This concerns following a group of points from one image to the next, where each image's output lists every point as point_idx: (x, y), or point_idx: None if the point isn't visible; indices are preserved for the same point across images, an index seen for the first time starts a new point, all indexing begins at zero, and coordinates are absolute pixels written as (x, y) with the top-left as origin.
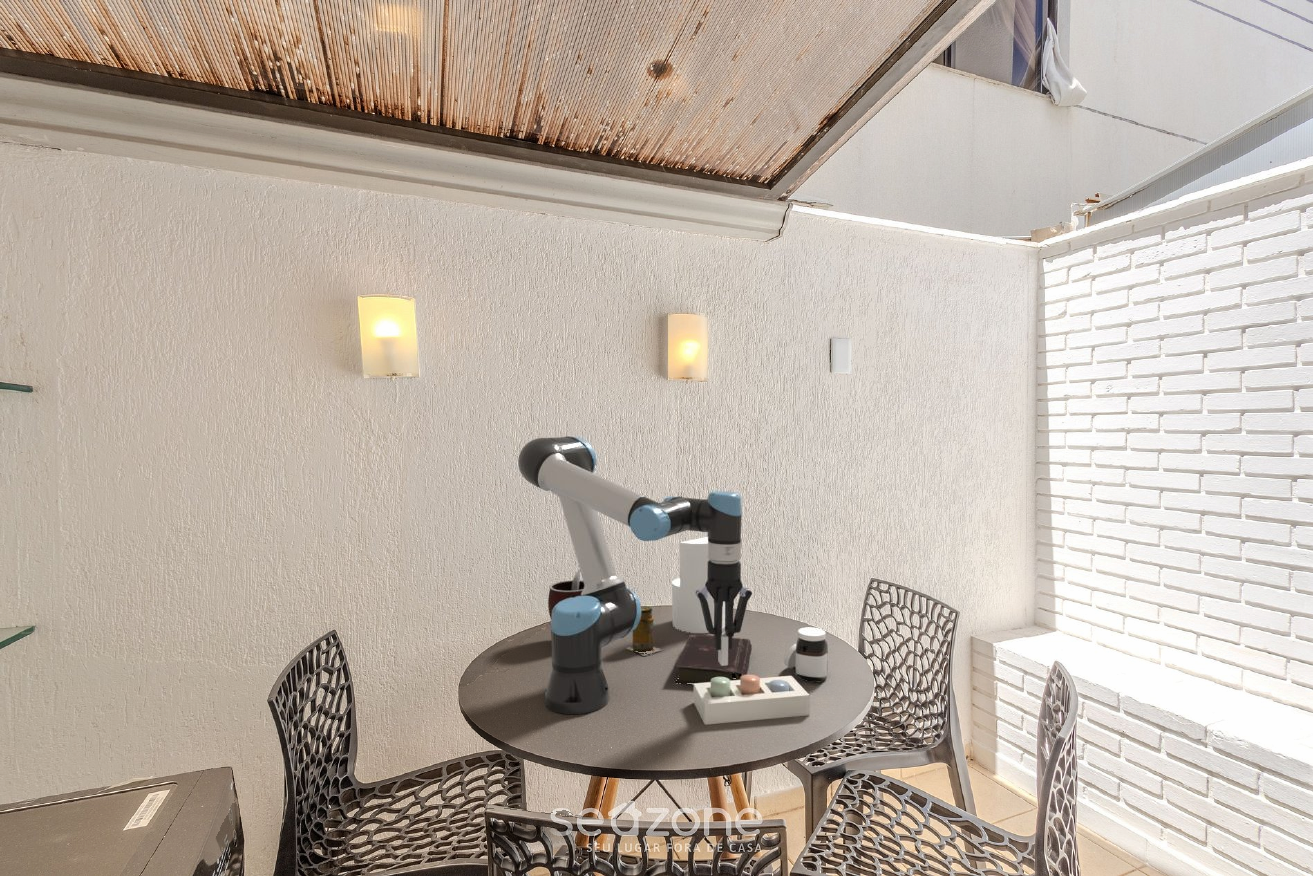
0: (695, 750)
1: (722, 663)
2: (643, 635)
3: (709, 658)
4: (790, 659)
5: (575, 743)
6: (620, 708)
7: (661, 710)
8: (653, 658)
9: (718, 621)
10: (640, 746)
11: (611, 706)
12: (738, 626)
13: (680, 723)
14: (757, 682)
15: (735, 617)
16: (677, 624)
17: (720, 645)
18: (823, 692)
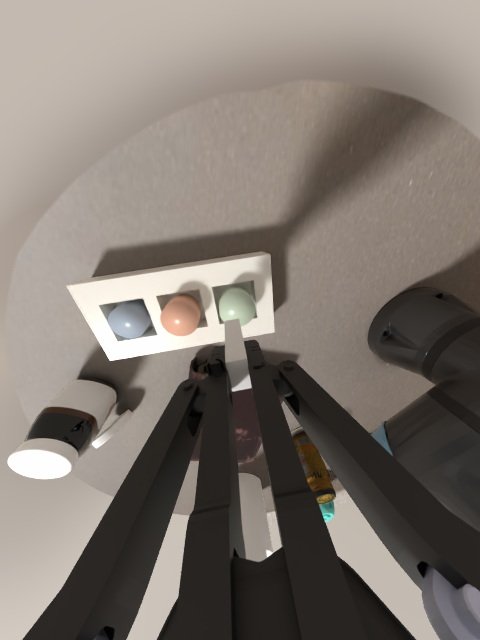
0: (291, 156)
1: (237, 321)
2: (311, 453)
3: (237, 410)
4: (119, 418)
5: (452, 200)
6: (362, 304)
7: (313, 298)
8: (294, 422)
9: (272, 403)
10: (370, 181)
11: (371, 310)
12: (183, 397)
13: (296, 257)
14: (165, 306)
15: (190, 444)
16: (258, 483)
17: (246, 348)
18: (74, 350)
